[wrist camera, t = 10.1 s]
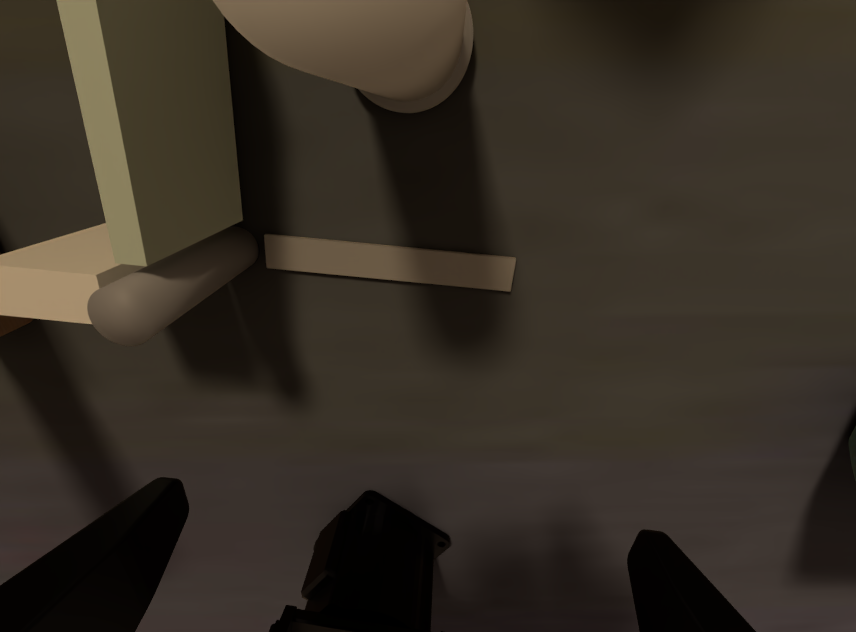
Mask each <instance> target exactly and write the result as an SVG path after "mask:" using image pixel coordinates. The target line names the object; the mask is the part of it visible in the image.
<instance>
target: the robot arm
mask: <svg viewBox="0 0 856 632" xmlns="http://www.w3.org/2000/svg"><path fill="white" fill-rule="evenodd" d="M370 499H372V500H370ZM188 513H189V503H188V500H187V497H186V493H185V490H184V487H183V483H182V482H181V481H180V480H179V479H175V478H166V477H160V478H157V479H155V480H153V481H152V482H150V483H149V484H147V485H146V486H144V487H143V488H141V489H140V490H139V491H137V492H136V493H134V494H133V495H131V496H130V497H128V498H127V499H125V500H124V501H122V502H121V503H120V504H118V505H117V506H115V507H114V508H112V509H111V510H109V511H108V512H106V513H105V514H104V515H102V516H101V517H99V518H98V519H96V520H95V521H93V522H92V523H90V524H89V525H88V526H86V527H85V528H83V529H82V530H80V531H79V532H77V533H76V534H74V535H73V536H72V537H70V538H69V539H67V540H66V541H64V542H63V543H61V544H60V545H58V546H57V547H56V548H54V549H53V550H51V551H50V552H48V553H47V554H45V555H44V556H42V557H41V558H40V559H38V560H37V561H35V562H34V563H32V564H31V565H29V566H28V567H26V568H25V569H24V570H22V571H21V572H19V573H18V574H16V575H15V576H13V577H12V578H10V579H9V580H8V581H6V582H5V583H3V584H2V585H0V632H135V631H136V629H137V627H138V625H139V623H140V621H141V619H142V618H143V616H144V614H145V612H146V610H147V608H148V606H149V604H150V602H151V600H152V598H153V596H154V594H155V592H156V590H157V587H158V585H159V583H160V580H161V578H162V576H163V573H164V571H165V569H166V566H167V564H168V562H169V559H170V557H171V555H172V552H173V550H174V548H175V545H176V543H177V541H178V538H179V536H180V534H181V531H182V529H183V527H184V524H185V522H186V520H187V517H188ZM449 540H450V538H449V536H448V535H446V534H445V533H443V532H441V531H440V530H438V529H436V528H435V527H433V526H431V525H430V524H428V523H426V522H425V521H423V520H421V519H420V518H418V517H416V516H415V515H413V514H411V513H410V512H408V511H406V510H405V509H403V508H401V507H400V506H398V505H396V504H395V503H393V502H391V501H390V500H388V499H386V498H385V497H383V496H381V495H380V494H378V493H376V492H374V491H370V490H369V491H365V492H364V493H363V494H362V495H361V496H360V497H359V498H358V499H357V500H356V501H355V502H354V503H353V504H352V505H351V506H350V507H349V508H348V509H347V510H344V511H341V512H340V513H339V514H338V515H337V516H336V517H335V518H334V519H333V520H332V521H331V522H330V523H329V524H328V525H327V526H326V527H325V528H324V529H323V530H322V531H321V532H320V535H319V538H318V539H317V540H316V542H315V545H314V553H313V556H312V559H311V563H310V566H309V569H308V572H307V575H306V578H305V581H304V584H303V587H302V590H301V594H302V598H304V599H306V600H308V601H307V604H306V607H305V610H301V609H297V607H296V606H290V605H286V606H285V609H284V611H283V614H282V616H281V618H280V620H277V621H276V623H275V624H272V625H271V627H270V630H269V632H431V609H432V587H433V564H434V559H435V558H436V557H438V556H439V555H440V554H441V553H442V552H444V551H445V550H446V549H447V548H448V547H449ZM627 564H628V571H629V577H630V582H631V587H632V593H633V598H634V604H635V609H636V614H637V620H638V625H639V631H640V632H756V631H755V630H754V629H753V628H752V627H751V626H750V625H749V623H748V622H747V621H746V620H745V619H744V618H743V617H742V616H741V615H740V614H739V613H738V611H737V610H736V609H735V608H734V607H733V606H732V605H731V604H730V603H729V602H728V601H727V599H726V598H725V597H724V596H723V595H722V594H721V593H720V592H719V591H718V590H717V589H716V587H715V586H714V585H713V584H712V583H711V582H710V581H709V580H708V579H707V578H706V577H705V576H704V574H703V573H702V572H701V571H700V570H699V569H698V568H697V567H696V566H695V565H694V564H693V562H692V561H691V560H690V559H689V558H688V557H687V556H686V555H685V554H684V553H683V552H682V550H681V549H680V548H679V547H678V546H677V545H676V544H675V543H674V542H673V541H672V540H671V538H670V537H669V536H668V535H666V534H665V533H663V532H661V531H654V530H641V531H640V532H639V533H638V535H637V537H636V539H635V541H634V543H633V545H632V547H631V549H630V552H629V554H628V559H627ZM441 632H443V631H441Z"/></svg>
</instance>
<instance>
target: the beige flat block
mask: <svg viewBox="0 0 856 632" xmlns="http://www.w3.org/2000/svg"><path fill="white" fill-rule="evenodd" d="M57 5H58V9H59V13H60V18H61V22H62V27H63V31H64V36H65V40H66V45H67V49H68V54H69V58H70V63H71V67H72V72H73V76H74V81H75V85H76V90H77V94H78V99H79V103H80V108H81V112H82V117H83V121H84V126H85V130H86V134H87V139H88V143H89V148H90V152H91V157H92V161H93V166H94V170H95V175H96V179H97V184H98V188H99V193H100V197H101V202H102V206H103V211H104V215H105V220H106V224H107V229H108V233H109V238H110V242H111V247H112V251H113V255H114V260H115V263H117V264H128V265H138V266H149V265H151V264H153V263H155V262H157V261H159V260H161V259H163V258H165V257H167V256H170V255H172V254H174V253H176V252H178V251H180V250H182V249H184V248H186V247H188V246H190V245H192V244H195V243H197V242H199V241H201V240H203V239H205V238H207V237H209V236H211V235H213V234H215V233H217V232H220V231H222V230H224V229H226V228H228V227H230V226H232V225H234V224H236V223H238V222H240V221H242V220H243V216H242V205H241V194H240V183H239V173H238V162H237V151H236V140H235V130H234V119H233V108H232V97H231V86H230V76H229V65H228V54H227V43H226V33H225V22H224V15H223V14H222V13H221V11H220V10H219V9H218V7H217V6H216V4H215V3H214V2H213V0H57Z"/></svg>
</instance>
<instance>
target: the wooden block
mask: <svg viewBox="0 0 856 632" xmlns="http://www.w3.org/2000/svg"><path fill="white" fill-rule="evenodd" d="M0 255H1V252H0ZM32 320H33V318H25V317H15V316H5V315H0V337H1V336H3V335H5V334H8V333H10V332H12V331H14V330H16V329H18V328H20V327H22V326H24V325H26V324H28V323H30V322H31V321H32Z"/></svg>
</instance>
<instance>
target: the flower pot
mask: <svg viewBox="0 0 856 632" xmlns="http://www.w3.org/2000/svg"><path fill="white" fill-rule="evenodd" d="M849 452H850V460H851V465H852V470H853V474H854V477H855V481H856V426H855V428H854V430H853V432H852V434H851V436H850V438H849Z"/></svg>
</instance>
